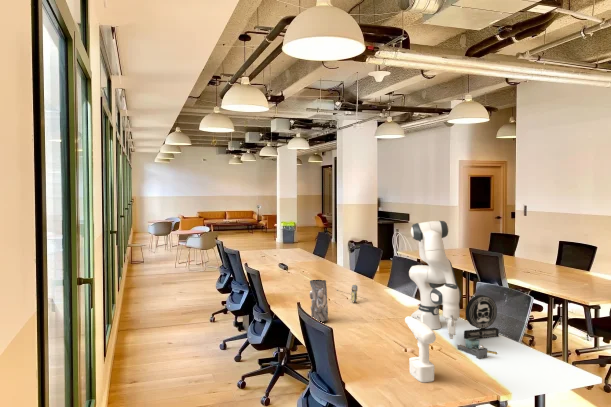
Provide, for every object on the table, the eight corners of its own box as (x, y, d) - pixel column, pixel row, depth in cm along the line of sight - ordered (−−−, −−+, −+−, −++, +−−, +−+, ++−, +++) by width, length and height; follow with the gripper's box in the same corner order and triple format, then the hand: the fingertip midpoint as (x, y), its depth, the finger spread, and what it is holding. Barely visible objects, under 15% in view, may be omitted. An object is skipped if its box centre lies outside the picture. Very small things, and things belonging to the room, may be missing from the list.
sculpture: (327, 324, 294) (326, 281, 293) (308, 323, 296) (307, 281, 296) (329, 319, 305) (329, 278, 305) (311, 318, 308) (311, 277, 307)
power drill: (415, 364, 225) (415, 314, 225) (440, 384, 202) (440, 328, 201) (399, 365, 223) (399, 315, 223) (422, 386, 200) (422, 329, 199)
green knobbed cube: (465, 347, 249) (465, 338, 249) (472, 346, 251) (472, 337, 251) (471, 350, 244) (471, 341, 244) (479, 349, 246) (479, 340, 246)
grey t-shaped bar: (455, 349, 245) (455, 338, 245) (463, 347, 248) (463, 336, 248) (479, 359, 231) (479, 346, 231) (487, 357, 234) (487, 344, 234)
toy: (335, 301, 355) (335, 282, 355) (365, 299, 361) (365, 281, 361) (339, 304, 346) (339, 285, 346) (370, 302, 352) (370, 283, 352)
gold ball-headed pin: (482, 352, 241) (482, 350, 241) (483, 350, 243) (484, 349, 243) (495, 354, 238) (495, 353, 237) (497, 353, 239) (497, 351, 239)
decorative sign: (466, 340, 261) (466, 297, 260) (463, 338, 264) (463, 296, 263) (498, 336, 267) (498, 294, 266) (495, 335, 269) (495, 293, 269)
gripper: (458, 318, 239) (458, 344, 240) (456, 309, 259) (456, 333, 259) (445, 318, 241) (445, 343, 241) (444, 309, 261) (444, 332, 261)
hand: (451, 338), depth 250 cm, fingers closed
